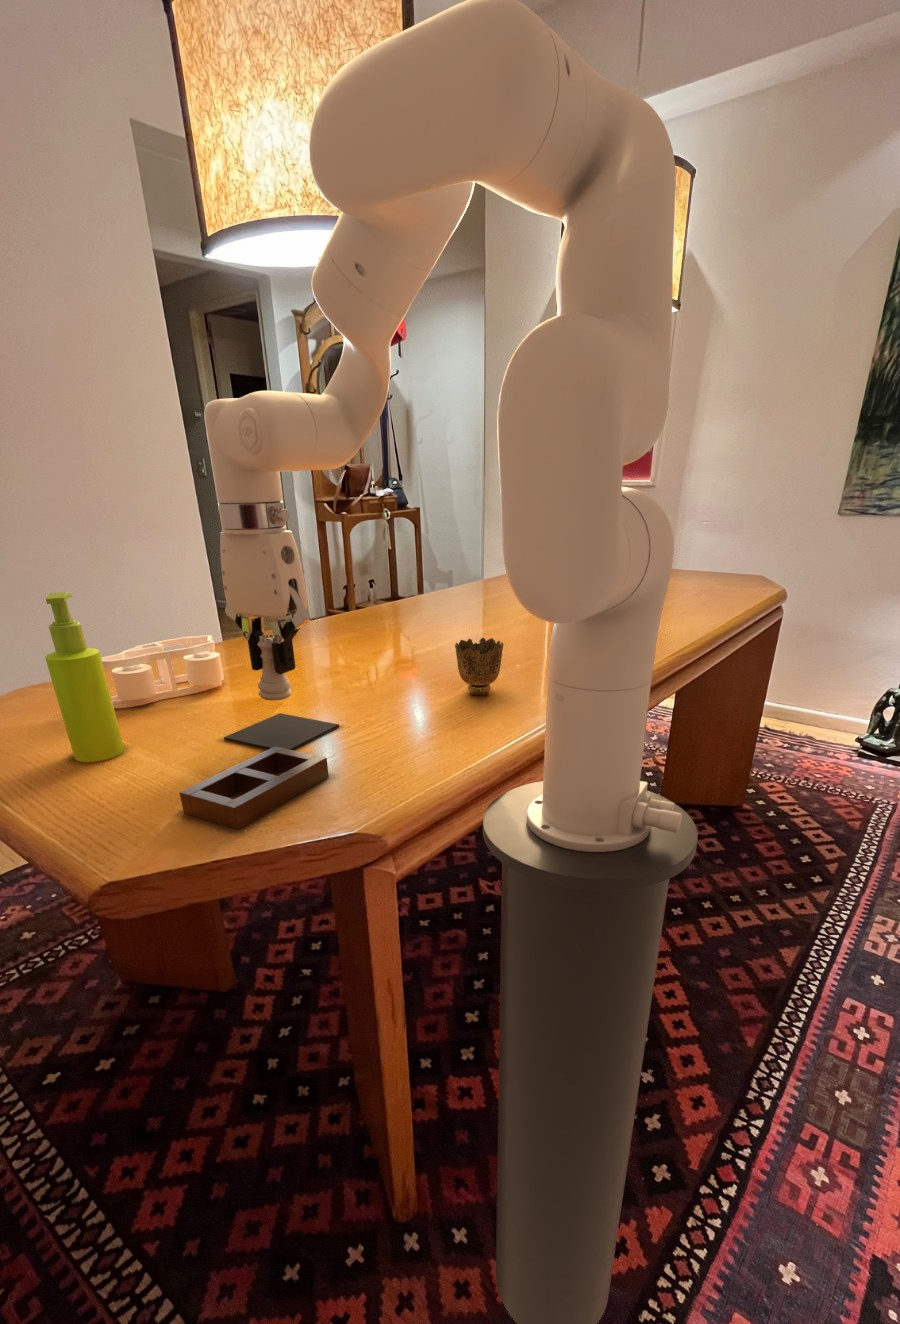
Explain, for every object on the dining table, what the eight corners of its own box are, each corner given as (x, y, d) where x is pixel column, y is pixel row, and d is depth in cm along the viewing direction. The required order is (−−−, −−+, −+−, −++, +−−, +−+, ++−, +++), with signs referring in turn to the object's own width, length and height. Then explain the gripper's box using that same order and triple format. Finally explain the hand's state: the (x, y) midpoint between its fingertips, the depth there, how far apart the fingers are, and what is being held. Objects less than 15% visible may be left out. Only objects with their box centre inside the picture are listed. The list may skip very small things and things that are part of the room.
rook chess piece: (284, 688, 93) (278, 630, 89) (298, 697, 90) (292, 637, 86) (253, 694, 91) (246, 634, 87) (266, 703, 88) (259, 642, 84)
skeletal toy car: (116, 715, 101) (104, 667, 98) (94, 698, 109) (83, 653, 105) (240, 687, 113) (233, 643, 109) (213, 674, 120) (206, 633, 117)
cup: (458, 701, 104) (457, 649, 100) (453, 687, 110) (452, 638, 107) (505, 699, 104) (506, 647, 101) (499, 685, 111) (499, 636, 107)
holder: (329, 777, 79) (326, 757, 78) (238, 830, 68) (234, 808, 67) (277, 765, 83) (274, 746, 82) (183, 813, 71) (178, 792, 70)
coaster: (339, 727, 94) (339, 724, 94) (286, 753, 86) (285, 750, 86) (280, 715, 99) (279, 713, 99) (224, 740, 91) (223, 737, 91)
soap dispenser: (126, 740, 92) (88, 587, 83) (122, 758, 86) (80, 596, 77) (79, 746, 90) (35, 591, 81) (71, 765, 84) (22, 600, 75)
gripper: (327, 517, 80) (341, 670, 88) (226, 516, 87) (248, 656, 95) (284, 522, 74) (303, 685, 82) (180, 520, 81) (207, 669, 89)
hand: (273, 668), depth 89 cm, fingers closed on rook chess piece, 3 cm apart
